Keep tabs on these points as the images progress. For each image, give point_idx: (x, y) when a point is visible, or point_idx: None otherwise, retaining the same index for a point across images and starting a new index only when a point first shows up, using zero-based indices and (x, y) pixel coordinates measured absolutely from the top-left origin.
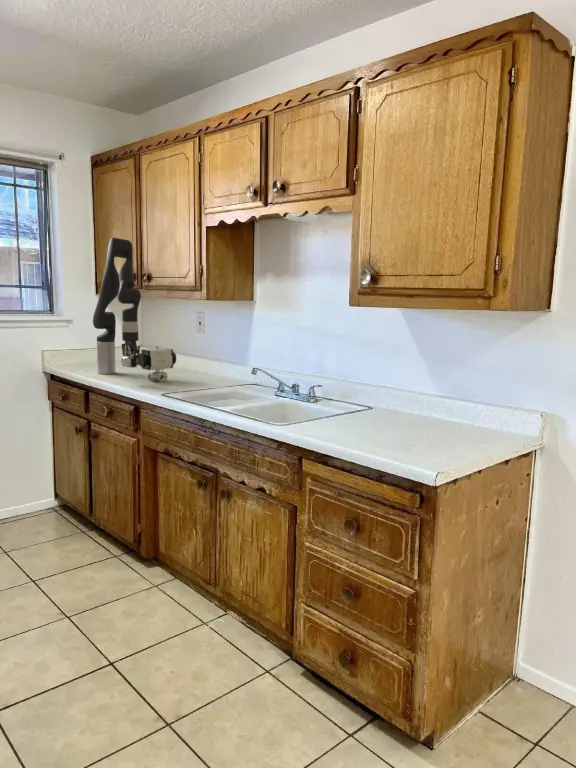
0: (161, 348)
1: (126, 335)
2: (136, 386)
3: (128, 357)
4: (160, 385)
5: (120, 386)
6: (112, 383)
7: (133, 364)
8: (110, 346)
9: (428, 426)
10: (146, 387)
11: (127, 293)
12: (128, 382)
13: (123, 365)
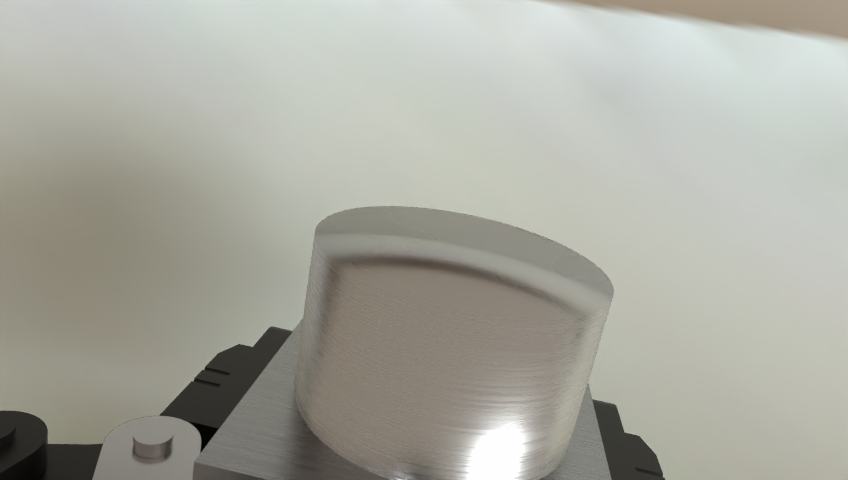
0: None
1: None
2: (252, 175)
3: (362, 454)
4: (123, 417)
5: (411, 11)
6: (737, 110)
7: (237, 359)
8: None
9: None
10: (104, 210)
11: None
12: (609, 328)
13: (474, 223)
